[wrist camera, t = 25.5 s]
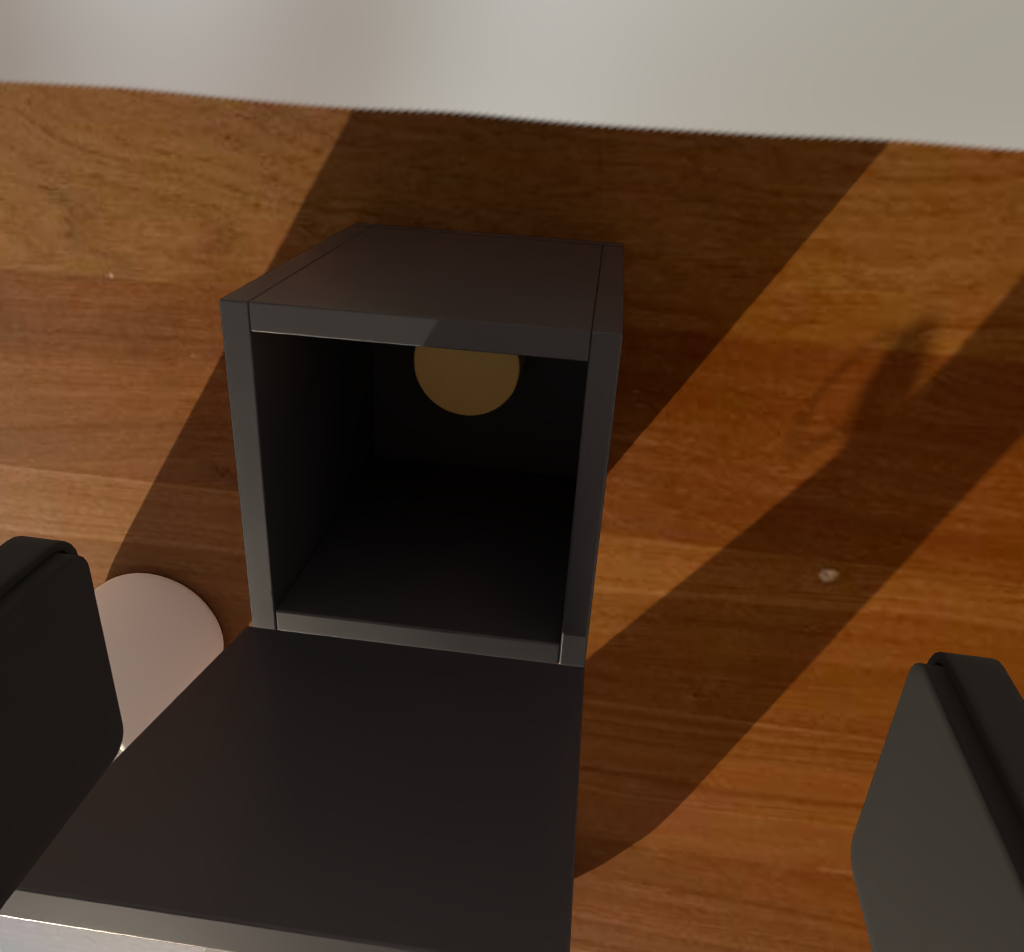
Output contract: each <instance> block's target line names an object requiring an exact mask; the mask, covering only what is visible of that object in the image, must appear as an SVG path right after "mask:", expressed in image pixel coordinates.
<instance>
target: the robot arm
mask: <svg viewBox="0 0 1024 952" xmlns="http://www.w3.org/2000/svg"><path fill="white" fill-rule="evenodd" d="M123 733H124V730H123V722H122V718H121V713H120V708H119V704H118V699H117V694H116V690H115V685H114V680H113V676H112V671H111V666H110V662H109V657H108V652H107V648H106V643H105V638H104V634H103V629H102V625H101V620H100V615H99V611H98V606H97V601H96V597H95V592H94V587H93V583H92V578H91V573H90V569H89V566H88V563H87V561H86V560H85V559H84V558H83V557H81V556H78V554H77V551H76V549H75V548H74V547H73V546H72V545H71V544H70V543H67V542H65V541H58V540H50V539H42V538H34V537H26V536H18V537H14V538H12V539H10V540H8V541H6V542H5V543H4V544H2V545H1V546H0V910H1V908H2V907H3V906H4V904H5V903H6V902H7V900H8V899H9V898H10V896H11V895H12V894H13V892H14V891H15V890H16V889H17V887H18V886H19V885H20V883H21V882H22V881H23V879H24V878H25V877H26V875H27V874H28V873H29V871H30V870H31V869H32V867H33V866H34V865H35V863H36V862H37V861H38V859H39V858H40V857H41V856H42V854H43V853H44V852H45V850H46V849H47V848H48V846H49V845H50V844H51V842H52V841H53V840H54V838H55V837H56V836H57V834H58V833H59V832H60V830H61V829H62V828H63V826H64V825H65V824H66V823H67V821H68V820H69V819H70V817H71V816H72V815H73V813H74V812H75V811H76V809H77V808H78V807H79V805H80V804H81V803H82V801H83V800H84V799H85V797H86V796H87V795H88V794H89V792H90V791H91V790H92V788H93V787H94V786H95V784H96V783H97V782H98V780H99V779H100V778H101V776H102V775H103V774H104V772H105V771H106V770H107V768H108V767H109V766H110V764H111V763H112V762H113V761H114V759H115V757H116V756H117V754H118V752H119V750H120V747H121V744H122V740H123ZM851 864H852V871H853V876H854V880H855V884H856V888H857V892H858V896H859V900H860V904H861V908H862V912H863V916H864V920H865V924H866V928H867V932H868V936H869V940H870V944H871V948H872V952H1024V701H1023V699H1022V697H1021V696H1020V694H1019V692H1018V690H1017V689H1016V687H1015V685H1014V684H1013V682H1012V680H1011V678H1010V677H1009V675H1008V673H1007V672H1006V670H1005V668H1004V667H1003V666H1002V664H1001V663H1000V662H999V661H997V660H995V659H992V658H984V657H977V656H969V655H961V654H953V653H945V652H938V653H934V655H933V656H932V657H931V658H930V659H929V661H928V663H927V664H922V663H917V664H914V665H913V666H912V668H911V669H910V672H909V674H908V677H907V680H906V683H905V685H904V688H903V691H902V694H901V697H900V700H899V703H898V706H897V709H896V712H895V715H894V718H893V721H892V724H891V727H890V729H889V732H888V735H887V738H886V741H885V744H884V747H883V750H882V753H881V756H880V759H879V762H878V765H877V768H876V771H875V774H874V776H873V779H872V782H871V785H870V788H869V791H868V794H867V797H866V800H865V803H864V806H863V809H862V812H861V815H860V818H859V820H858V823H857V826H856V829H855V832H854V835H853V839H852V846H851Z"/></svg>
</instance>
